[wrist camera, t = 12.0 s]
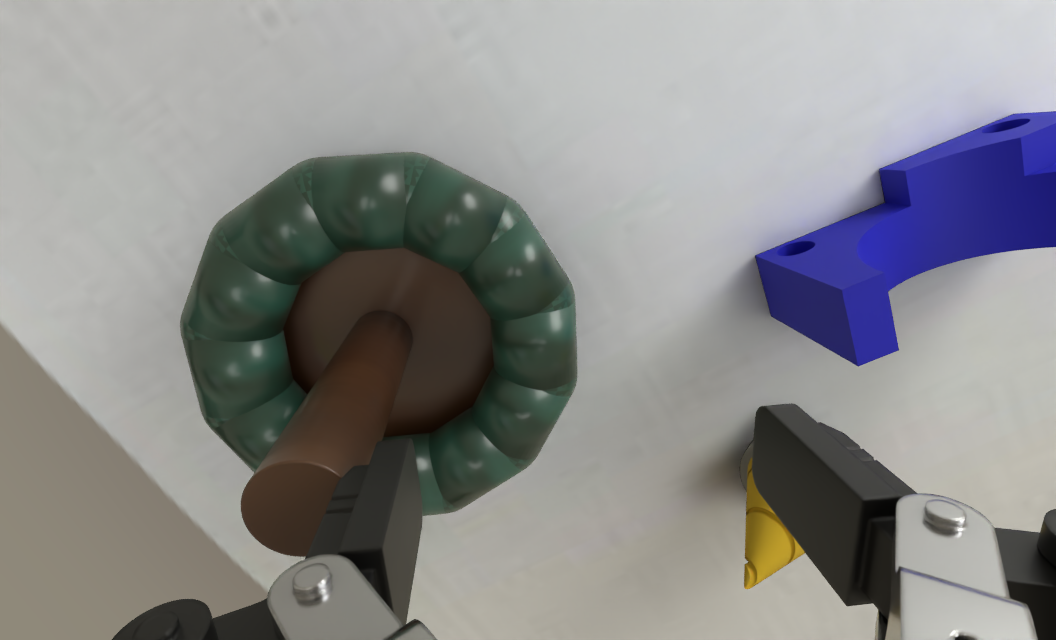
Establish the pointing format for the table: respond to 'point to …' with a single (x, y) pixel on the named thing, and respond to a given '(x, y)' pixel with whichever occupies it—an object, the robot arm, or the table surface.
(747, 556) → the yellow cone
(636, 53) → the table surface
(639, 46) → the table surface
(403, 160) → the green ring
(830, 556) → the robot arm
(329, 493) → the stand
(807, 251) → the cable clip
